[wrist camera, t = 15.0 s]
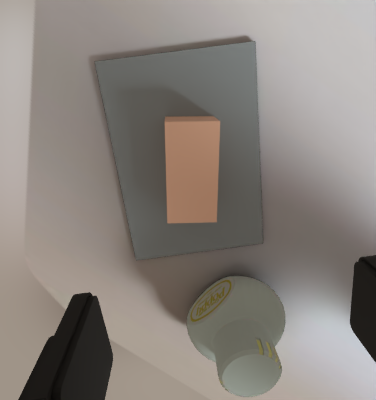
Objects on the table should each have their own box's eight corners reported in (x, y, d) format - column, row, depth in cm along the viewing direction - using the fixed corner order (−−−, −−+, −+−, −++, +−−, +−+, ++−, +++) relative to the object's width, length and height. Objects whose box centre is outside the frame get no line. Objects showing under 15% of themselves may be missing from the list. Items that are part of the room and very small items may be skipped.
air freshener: (221, 346, 40) (236, 427, 31) (174, 311, 38) (176, 387, 28) (286, 294, 38) (325, 364, 28) (241, 253, 35) (267, 315, 26)
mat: (261, 240, 35) (263, 243, 34) (136, 257, 35) (136, 260, 34) (253, 41, 28) (255, 40, 27) (95, 61, 27) (94, 61, 27)
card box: (213, 116, 29) (220, 121, 25) (211, 205, 32) (216, 222, 28) (165, 116, 29) (164, 121, 25) (167, 206, 32) (167, 223, 28)
